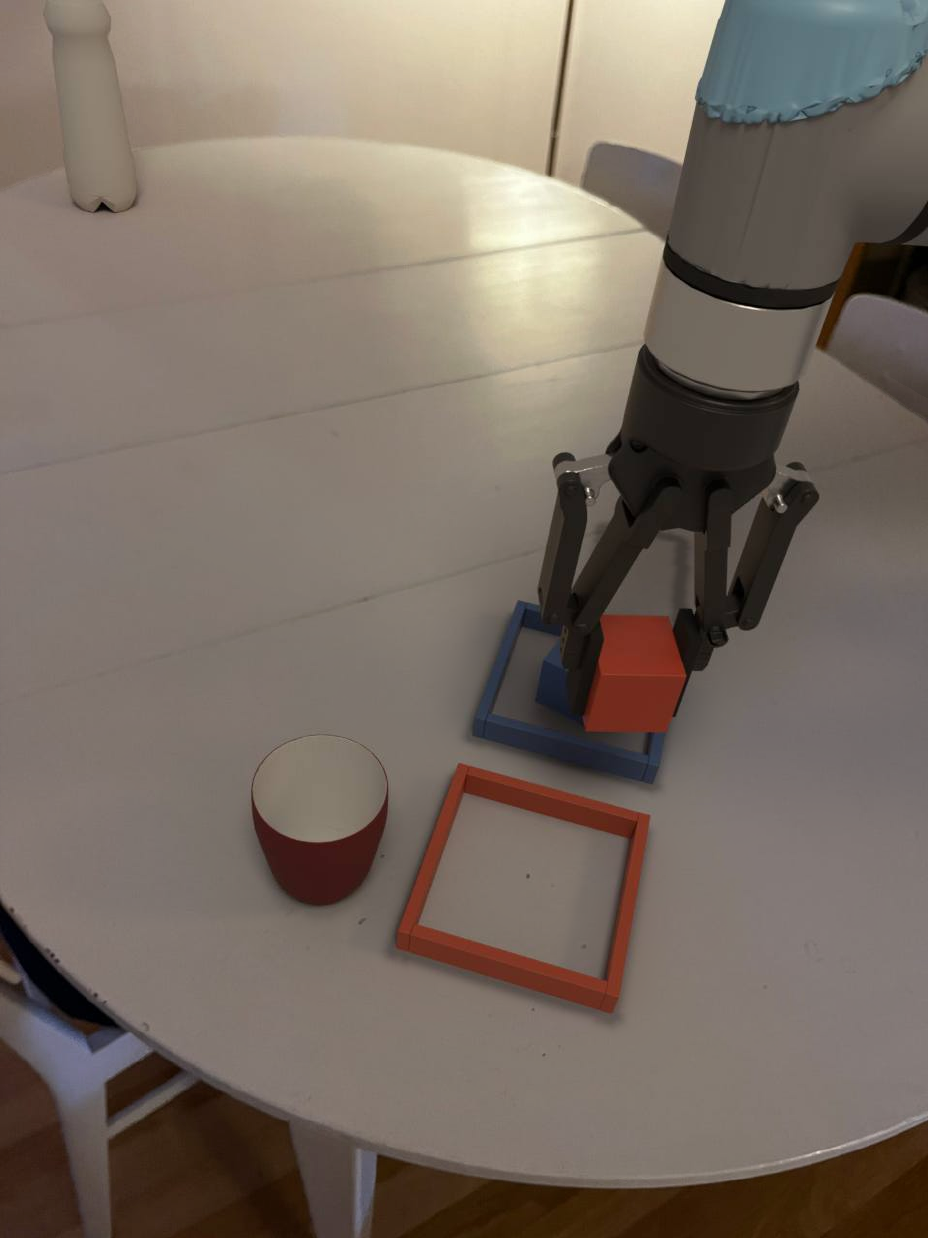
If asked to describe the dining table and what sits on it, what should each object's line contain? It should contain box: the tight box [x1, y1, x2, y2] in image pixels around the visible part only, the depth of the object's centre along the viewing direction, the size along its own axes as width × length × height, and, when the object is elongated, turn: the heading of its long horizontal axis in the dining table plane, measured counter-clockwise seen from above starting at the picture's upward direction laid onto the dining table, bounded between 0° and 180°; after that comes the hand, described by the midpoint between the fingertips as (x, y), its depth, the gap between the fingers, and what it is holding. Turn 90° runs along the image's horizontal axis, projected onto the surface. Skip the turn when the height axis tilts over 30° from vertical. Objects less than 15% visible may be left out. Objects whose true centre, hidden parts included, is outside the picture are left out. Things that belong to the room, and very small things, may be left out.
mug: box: [250, 734, 389, 906], centre depth 64 cm, size 10×8×10 cm
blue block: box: [534, 638, 584, 726], centre depth 78 cm, size 5×5×5 cm
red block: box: [583, 613, 686, 733], centre depth 61 cm, size 5×5×5 cm
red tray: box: [395, 762, 651, 1015], centre depth 66 cm, size 14×14×3 cm
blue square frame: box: [472, 599, 666, 786], centre depth 79 cm, size 14×14×3 cm
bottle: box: [42, 0, 138, 213], centre depth 130 cm, size 9×9×30 cm
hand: (620, 699), depth 63 cm, fingers closed on red block, 5 cm apart
